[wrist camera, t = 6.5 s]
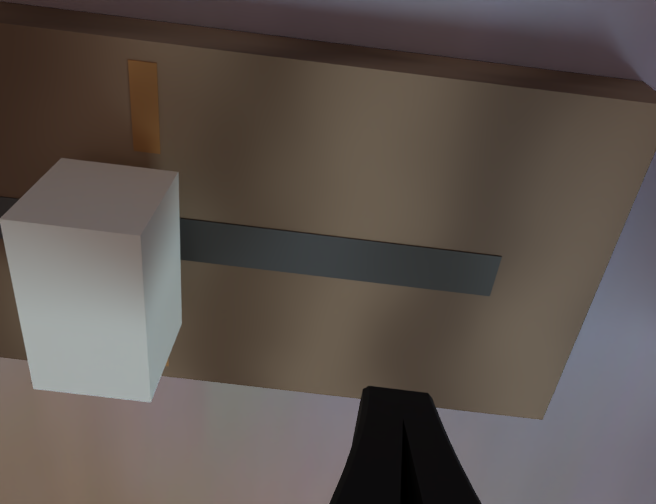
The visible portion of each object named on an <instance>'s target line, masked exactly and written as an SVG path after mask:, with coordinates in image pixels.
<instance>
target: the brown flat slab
mask: <svg viewBox="0 0 656 504" xmlns="http://www.w3.org/2000/svg"><path fill="white" fill-rule="evenodd" d="M655 151H656V91H655V90H653V89H652V88H651V87H650V86H648V85H647V84H646V83H645V82H643V81H636V80H628V79H620V78H612V77H604V76H596V75H587V74H579V73H571V72H563V71H555V70H547V69H539V68H531V67H523V66H515V65H507V64H499V63H491V62H483V61H475V60H467V59H459V58H450V57H442V56H434V55H426V54H418V53H410V52H402V51H394V50H386V49H378V48H370V47H362V46H354V45H346V44H338V43H330V42H322V41H313V40H305V39H297V38H289V37H281V36H273V35H265V34H257V33H249V32H241V31H233V30H225V29H217V28H209V27H201V26H193V25H185V24H176V23H168V22H160V21H152V20H144V19H136V18H128V17H120V16H112V15H104V14H96V13H88V12H80V11H72V10H64V9H56V8H48V7H39V6H31V5H23V4H15V3H7V2H0V218H1V217H2V216H3V215H4V214H5V213H6V212H7V211H8V210H9V209H10V208H11V207H12V206H13V205H14V204H15V203H16V202H17V201H18V200H19V199H20V198H21V197H22V196H23V195H24V194H25V193H26V192H27V191H28V190H29V189H30V188H31V187H32V186H33V185H34V184H35V183H36V182H37V181H38V180H39V179H40V178H41V177H42V176H43V175H44V174H46V173H47V172H48V171H49V170H50V169H51V168H52V167H53V166H54V165H55V164H56V163H57V162H58V161H59V160H60V159H61V158H67V159H75V160H83V161H92V162H100V163H108V164H117V165H125V166H133V167H142V168H150V169H158V170H166V171H175V172H178V174H179V219H180V263H181V307H182V324H181V327H180V330H179V332H178V335H177V337H176V340H175V342H174V345H173V347H172V350H171V352H170V355H169V357H168V360H167V363H166V365H165V368H164V370H163V373H162V375H161V376H168V377H176V378H185V379H194V380H202V381H211V382H220V383H228V384H237V385H246V386H254V387H263V388H272V389H280V390H289V391H298V392H306V393H315V394H324V395H332V396H341V397H350V398H358V399H361V395H362V390H363V389H364V388H366V387H367V386H376V387H384V388H392V389H400V390H409V391H417V392H425V393H429V395H430V396H431V397H432V399H433V401H434V404H435V407H436V408H445V409H454V410H462V411H471V412H480V413H488V414H497V415H506V416H514V417H523V418H532V419H540V420H542V419H543V417H544V415H545V412H546V410H547V408H548V405H549V403H550V400H551V398H552V396H553V393H554V391H555V389H556V386H557V384H558V381H559V379H560V377H561V374H562V372H563V370H564V367H565V365H566V362H567V360H568V358H569V355H570V353H571V351H572V348H573V346H574V343H575V341H576V339H577V336H578V334H579V332H580V329H581V327H582V324H583V322H584V320H585V317H586V315H587V313H588V310H589V308H590V305H591V303H592V301H593V298H594V296H595V293H596V291H597V289H598V286H599V284H600V282H601V279H602V277H603V274H604V272H605V270H606V267H607V265H608V263H609V260H610V258H611V255H612V253H613V251H614V248H615V246H616V244H617V241H618V239H619V236H620V234H621V232H622V229H623V227H624V225H625V222H626V220H627V217H628V215H629V213H630V210H631V208H632V206H633V203H634V201H635V198H636V196H637V194H638V191H639V189H640V187H641V184H642V182H643V179H644V177H645V175H646V172H647V170H648V167H649V165H650V163H651V160H652V158H653V156H654V153H655ZM0 357H3V358H12V359H21V360H28V359H27V354H26V349H25V344H24V339H23V334H22V329H21V325H20V320H19V315H18V310H17V305H16V300H15V295H14V290H13V285H12V280H11V275H10V270H9V265H8V260H7V255H6V250H5V245H4V240H3V235H2V230H1V225H0Z"/></svg>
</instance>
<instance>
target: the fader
mask: <svg viewBox="0 0 656 504" xmlns="http://www.w3.org/2000/svg"><path fill="white" fill-rule="evenodd" d="M0 225H1V230H2V235H3V240H4V245H5V250H6V255H7V260H8V265H9V270H10V275H11V280H12V285H13V290H14V295H15V300H16V305H17V310H18V315H19V320H20V325H21V329H22V334H23V339H24V344H25V349H26V354H27V359H28V364H29V369H30V374H31V379H32V384H33V389H39V390H48V391H56V392H65V393H74V394H82V395H91V396H100V397H108V398H117V399H126V400H135V401H143V402H151V401H152V398H153V395H154V393H155V390H156V388H157V385H158V383H159V380H160V378H161V375H162V373H163V370H164V368H165V365H166V363H167V360H168V357H169V355H170V352H171V350H172V347H173V345H174V342H175V340H176V337H177V335H178V332H179V330H180V327H181V324H182V307H181V263H180V219H179V174H178V172H175V171H166V170H158V169H150V168H142V167H133V166H125V165H117V164H108V163H100V162H92V161H83V160H75V159H67V158H61V159H60V160H59V161H58V162H57V163H56V164H55V165H54V166H53V167H52V168H51V169H50V170H49V171H48V172H47V173H46V174H44V175H43V176H42V177H41V178H40V179H39V180H38V181H37V182H36V183H35V184H34V185H33V186H32V187H31V188H30V189H29V190H28V191H27V192H26V193H25V194H24V195H23V196H22V197H21V198H20V199H19V200H18V201H17V202H16V203H15V204H14V205H13V206H12V207H11V208H10V209H9V210H8V211H7V212H6V213H5V214H4V215H3V216H2V217H1V218H0Z"/></svg>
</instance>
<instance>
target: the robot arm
mask: <svg viewBox="0 0 656 504" xmlns="http://www.w3.org/2000/svg"><path fill="white" fill-rule="evenodd" d="M329 504H481V502H480V500H479V498H478V497H477V495H476V493H475V491H474V489H473V487H472V485H471V483H470V481H469V479H468V477H467V476H466V474H465V472H464V470H463V468H462V466H461V464H460V462H459V460H458V458H457V456H456V454H455V451H454V449H453V447H452V445H451V443H450V440H449V438H448V436H447V434H446V431H445V429H444V427H443V424H442V422H441V420H440V417H439V415H438V412H437V409H436V407H435V404H434V401H433V399H432V397H431V396H430V395H429V393H425V392H417V391H409V390H400V389H392V388H384V387H376V386H367V387H366V388H364V389H363V390H362V395H361V401H360V406H359V411H358V416H357V422H356V427H355V432H354V437H353V443H352V447H351V450H350V453H349V456H348V459H347V462H346V465H345V468H344V470H343V473H342V475H341V478H340V480H339V482H338V485H337V487H336V489H335V492H334V494H333V496H332V499H331V501H330V503H329Z"/></svg>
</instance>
